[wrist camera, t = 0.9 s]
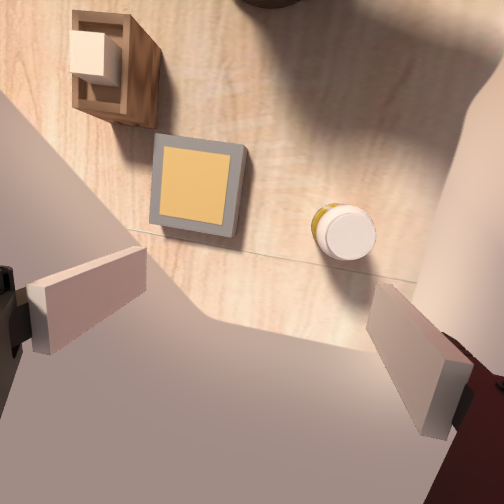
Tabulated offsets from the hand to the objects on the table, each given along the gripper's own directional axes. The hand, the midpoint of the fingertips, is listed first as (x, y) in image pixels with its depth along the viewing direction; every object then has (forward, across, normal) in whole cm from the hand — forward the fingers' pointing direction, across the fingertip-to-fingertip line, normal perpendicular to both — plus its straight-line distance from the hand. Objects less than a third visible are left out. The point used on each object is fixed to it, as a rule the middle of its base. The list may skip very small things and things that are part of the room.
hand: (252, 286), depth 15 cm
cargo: (+18, -22, +17) cm, 33 cm away
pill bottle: (+24, +8, +1) cm, 25 cm away
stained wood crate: (+24, -22, +17) cm, 37 cm away
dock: (+24, -12, +4) cm, 27 cm away
